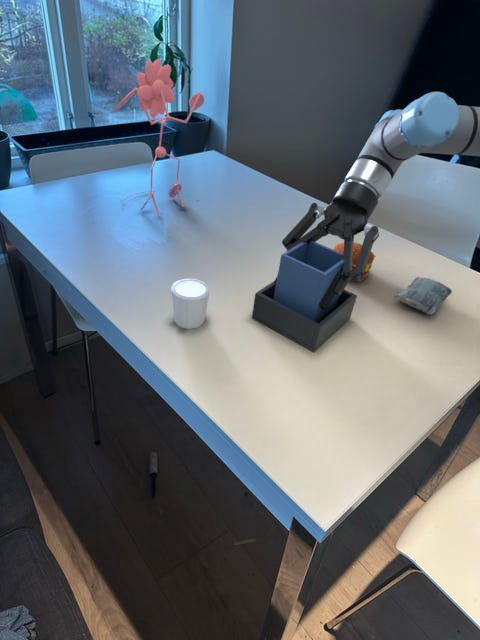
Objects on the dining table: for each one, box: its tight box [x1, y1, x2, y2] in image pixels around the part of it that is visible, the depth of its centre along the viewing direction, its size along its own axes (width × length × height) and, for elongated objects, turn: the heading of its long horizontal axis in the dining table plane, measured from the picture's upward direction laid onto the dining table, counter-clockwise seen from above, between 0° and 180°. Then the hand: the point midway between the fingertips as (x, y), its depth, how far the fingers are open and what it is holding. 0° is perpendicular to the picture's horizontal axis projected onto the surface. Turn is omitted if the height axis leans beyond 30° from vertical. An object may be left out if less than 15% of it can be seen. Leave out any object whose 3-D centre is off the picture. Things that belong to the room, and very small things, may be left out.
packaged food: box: [393, 276, 453, 316], centre depth 95 cm, size 9×12×5 cm
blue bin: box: [273, 241, 345, 322], centre depth 82 cm, size 9×9×11 cm
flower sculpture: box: [111, 58, 205, 217], centre depth 113 cm, size 15×26×35 cm, turn 142°
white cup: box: [170, 278, 211, 330], centre depth 82 cm, size 7×7×7 cm
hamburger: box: [333, 242, 377, 282], centre depth 102 cm, size 9×10×7 cm
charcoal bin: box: [251, 281, 358, 353], centre depth 86 cm, size 14×14×6 cm
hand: (299, 296), depth 81 cm, fingers closed on blue bin, 9 cm apart
